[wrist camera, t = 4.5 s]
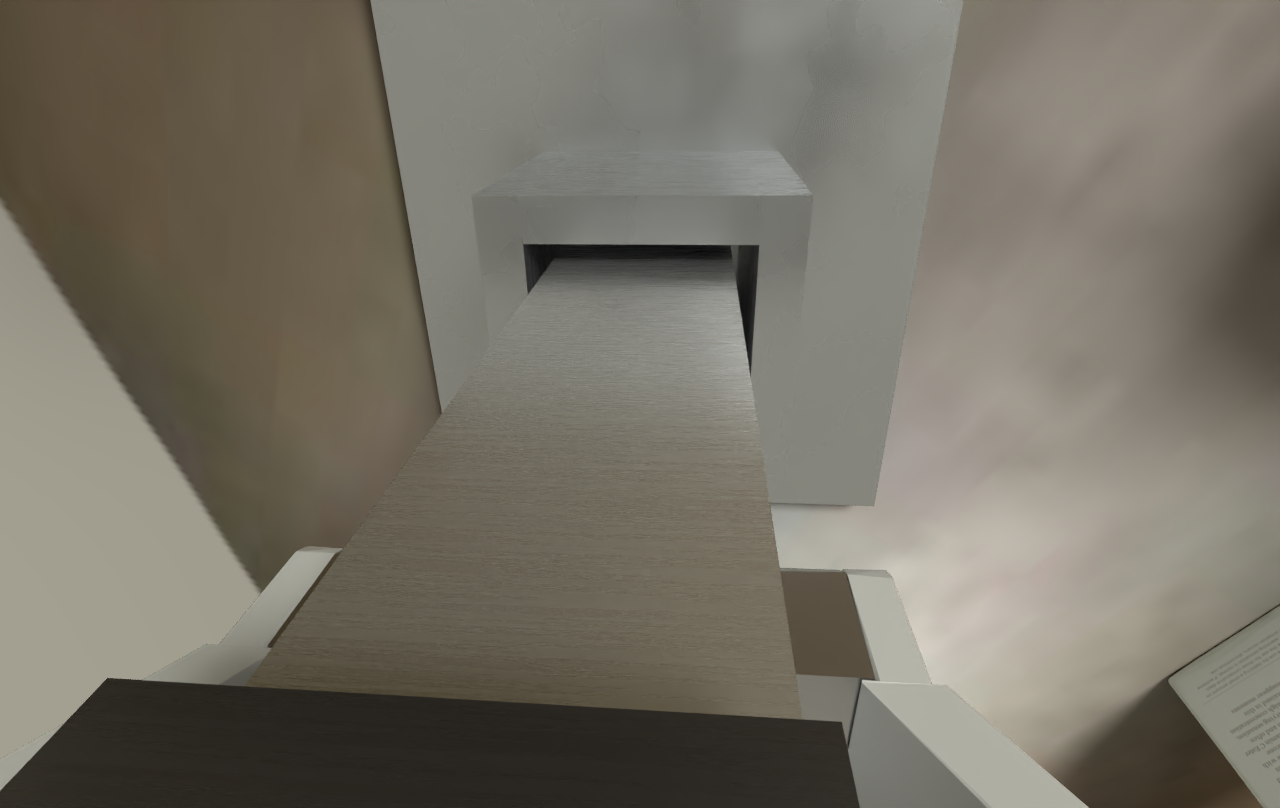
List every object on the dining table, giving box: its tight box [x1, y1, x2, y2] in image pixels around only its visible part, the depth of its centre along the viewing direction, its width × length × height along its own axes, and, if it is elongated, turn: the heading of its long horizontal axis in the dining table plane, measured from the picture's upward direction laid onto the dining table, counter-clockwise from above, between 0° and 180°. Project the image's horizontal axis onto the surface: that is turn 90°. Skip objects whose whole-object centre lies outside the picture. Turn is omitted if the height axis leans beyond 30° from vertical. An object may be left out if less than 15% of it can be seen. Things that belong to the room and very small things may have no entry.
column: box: [0, 244, 860, 808], centre depth 12 cm, size 6×4×19 cm, turn 1°
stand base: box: [370, 0, 963, 506], centre depth 16 cm, size 18×16×16 cm
